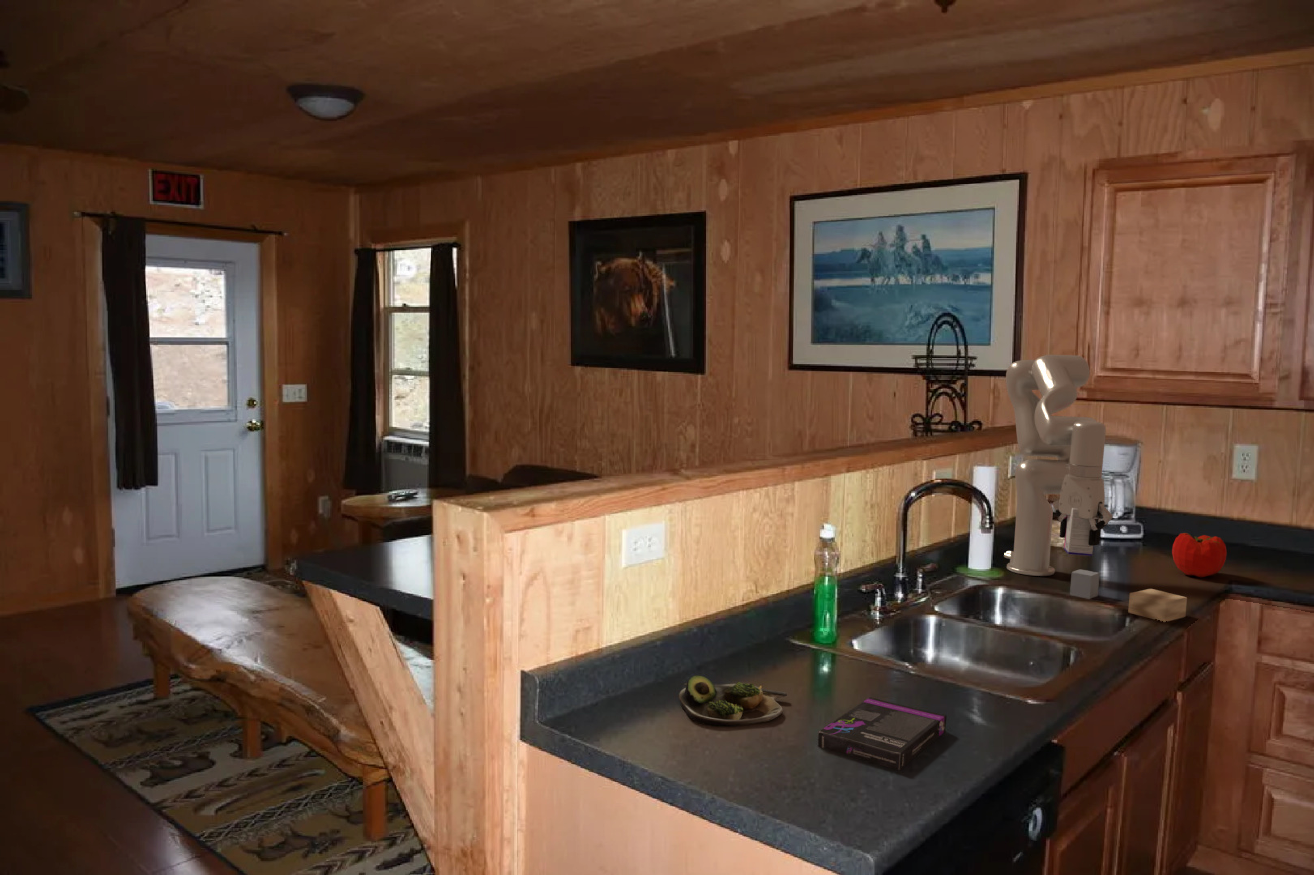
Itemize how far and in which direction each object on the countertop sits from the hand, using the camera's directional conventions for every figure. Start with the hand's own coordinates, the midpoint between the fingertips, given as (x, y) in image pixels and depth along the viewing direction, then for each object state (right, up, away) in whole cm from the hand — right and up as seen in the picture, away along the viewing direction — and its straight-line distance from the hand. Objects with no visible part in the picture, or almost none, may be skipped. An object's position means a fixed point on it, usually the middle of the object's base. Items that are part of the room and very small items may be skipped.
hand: (1079, 540), depth 247 cm
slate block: (+5, -15, +8) cm, 18 cm away
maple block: (+15, -17, -8) cm, 24 cm away
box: (-68, -24, -85) cm, 112 cm away
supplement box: (0, -3, +1) cm, 3 cm away
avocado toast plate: (-93, -22, -74) cm, 121 cm away
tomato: (+48, -13, +34) cm, 60 cm away
